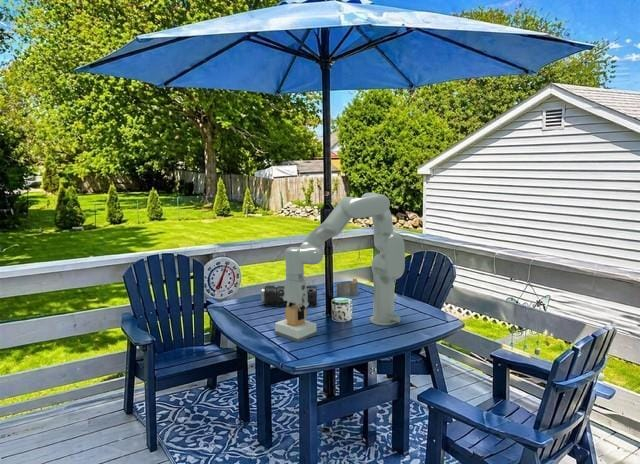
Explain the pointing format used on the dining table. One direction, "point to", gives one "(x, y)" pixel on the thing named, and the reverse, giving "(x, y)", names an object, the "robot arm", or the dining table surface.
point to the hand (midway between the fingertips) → (295, 317)
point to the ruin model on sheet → (347, 288)
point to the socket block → (295, 330)
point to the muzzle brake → (276, 295)
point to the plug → (294, 315)
